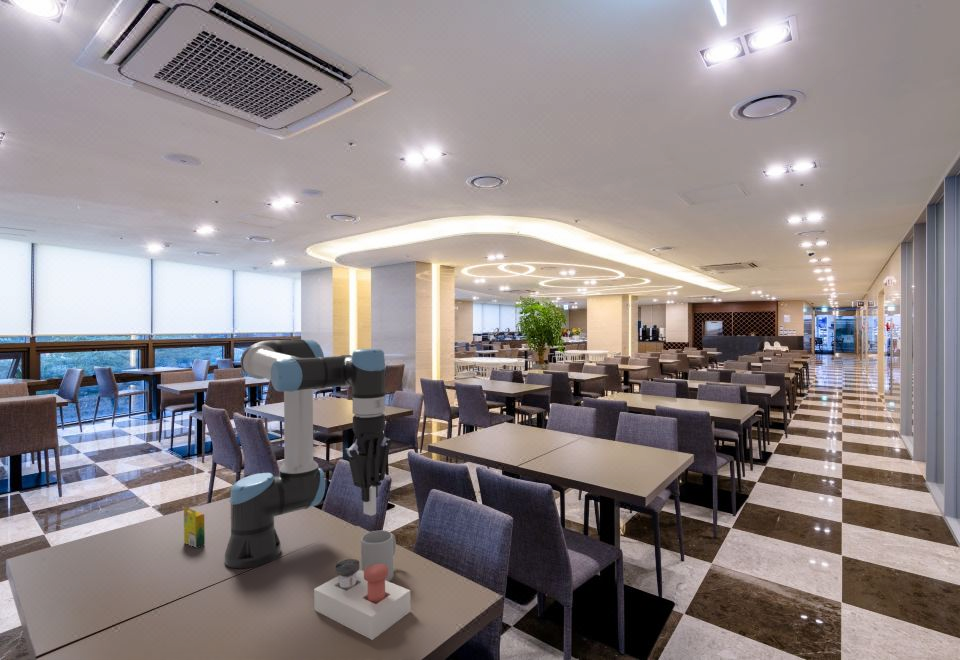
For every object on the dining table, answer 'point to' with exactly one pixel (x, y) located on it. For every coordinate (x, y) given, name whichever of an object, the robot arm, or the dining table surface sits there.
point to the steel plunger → (347, 573)
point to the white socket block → (362, 605)
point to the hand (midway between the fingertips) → (369, 513)
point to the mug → (378, 550)
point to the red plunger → (376, 582)
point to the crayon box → (193, 528)
